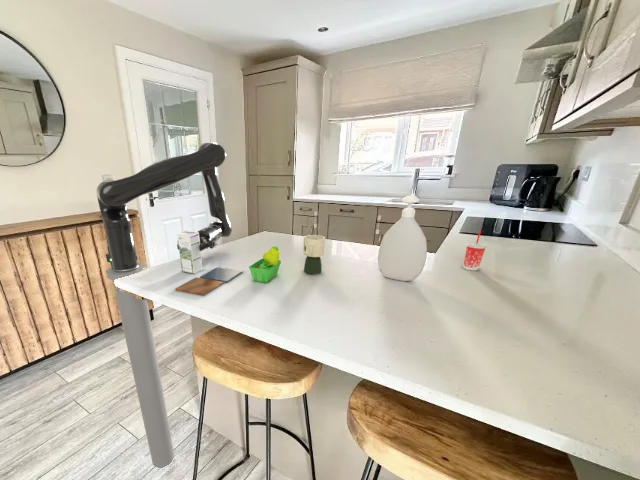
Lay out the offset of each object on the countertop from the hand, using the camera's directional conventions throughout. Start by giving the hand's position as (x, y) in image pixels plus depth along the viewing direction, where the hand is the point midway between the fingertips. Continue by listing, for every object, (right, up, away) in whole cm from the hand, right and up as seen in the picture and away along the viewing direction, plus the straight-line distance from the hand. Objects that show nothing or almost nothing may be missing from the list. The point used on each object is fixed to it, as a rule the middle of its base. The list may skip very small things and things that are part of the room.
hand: (189, 247), depth 112 cm
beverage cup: (+102, -8, 0) cm, 102 cm away
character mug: (+45, -9, -1) cm, 46 cm away
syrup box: (0, -8, +4) cm, 9 cm away
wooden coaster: (+6, -14, -11) cm, 19 cm away
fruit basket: (+28, -11, -5) cm, 31 cm away
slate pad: (+12, -10, -2) cm, 16 cm away
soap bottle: (+72, -11, -8) cm, 74 cm away
